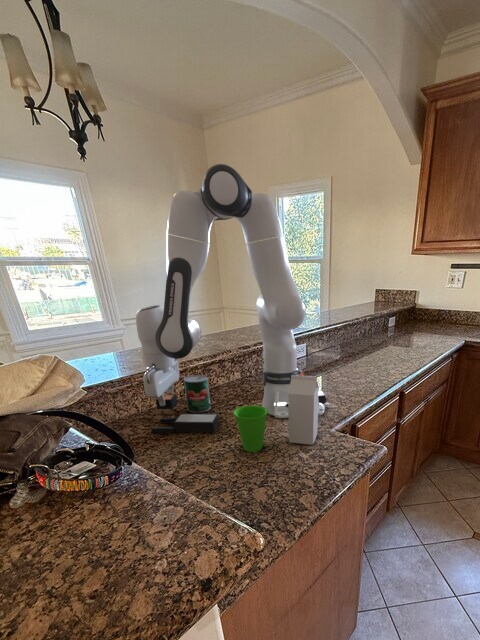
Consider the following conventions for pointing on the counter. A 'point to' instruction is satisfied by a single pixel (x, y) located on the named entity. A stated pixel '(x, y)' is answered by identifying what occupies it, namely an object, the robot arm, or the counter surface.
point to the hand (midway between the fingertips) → (167, 401)
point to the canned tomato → (197, 393)
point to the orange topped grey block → (168, 402)
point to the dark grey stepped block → (190, 423)
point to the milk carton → (303, 409)
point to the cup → (251, 426)
